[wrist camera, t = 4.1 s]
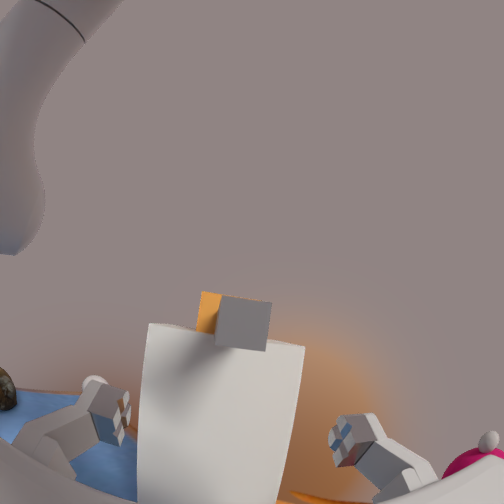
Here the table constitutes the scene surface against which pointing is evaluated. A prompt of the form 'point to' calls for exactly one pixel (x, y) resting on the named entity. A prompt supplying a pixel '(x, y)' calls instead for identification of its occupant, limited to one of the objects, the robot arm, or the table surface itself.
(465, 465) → the pepper mill
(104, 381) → the lightbulb
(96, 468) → the table surface
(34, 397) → the table surface
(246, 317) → the handle
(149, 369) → the cabinet
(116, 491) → the table surface
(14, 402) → the seashell
